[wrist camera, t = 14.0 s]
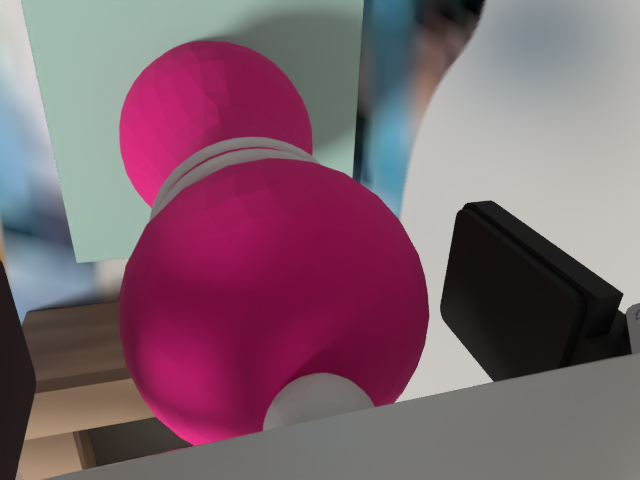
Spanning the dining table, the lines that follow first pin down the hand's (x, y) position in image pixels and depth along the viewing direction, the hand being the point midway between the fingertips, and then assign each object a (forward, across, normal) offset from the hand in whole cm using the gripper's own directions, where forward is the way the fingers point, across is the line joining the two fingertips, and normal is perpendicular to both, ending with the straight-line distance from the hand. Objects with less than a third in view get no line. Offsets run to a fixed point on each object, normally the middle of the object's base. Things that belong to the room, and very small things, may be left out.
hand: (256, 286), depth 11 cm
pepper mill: (+15, -1, 0) cm, 15 cm away
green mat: (+16, -1, 0) cm, 16 cm away
